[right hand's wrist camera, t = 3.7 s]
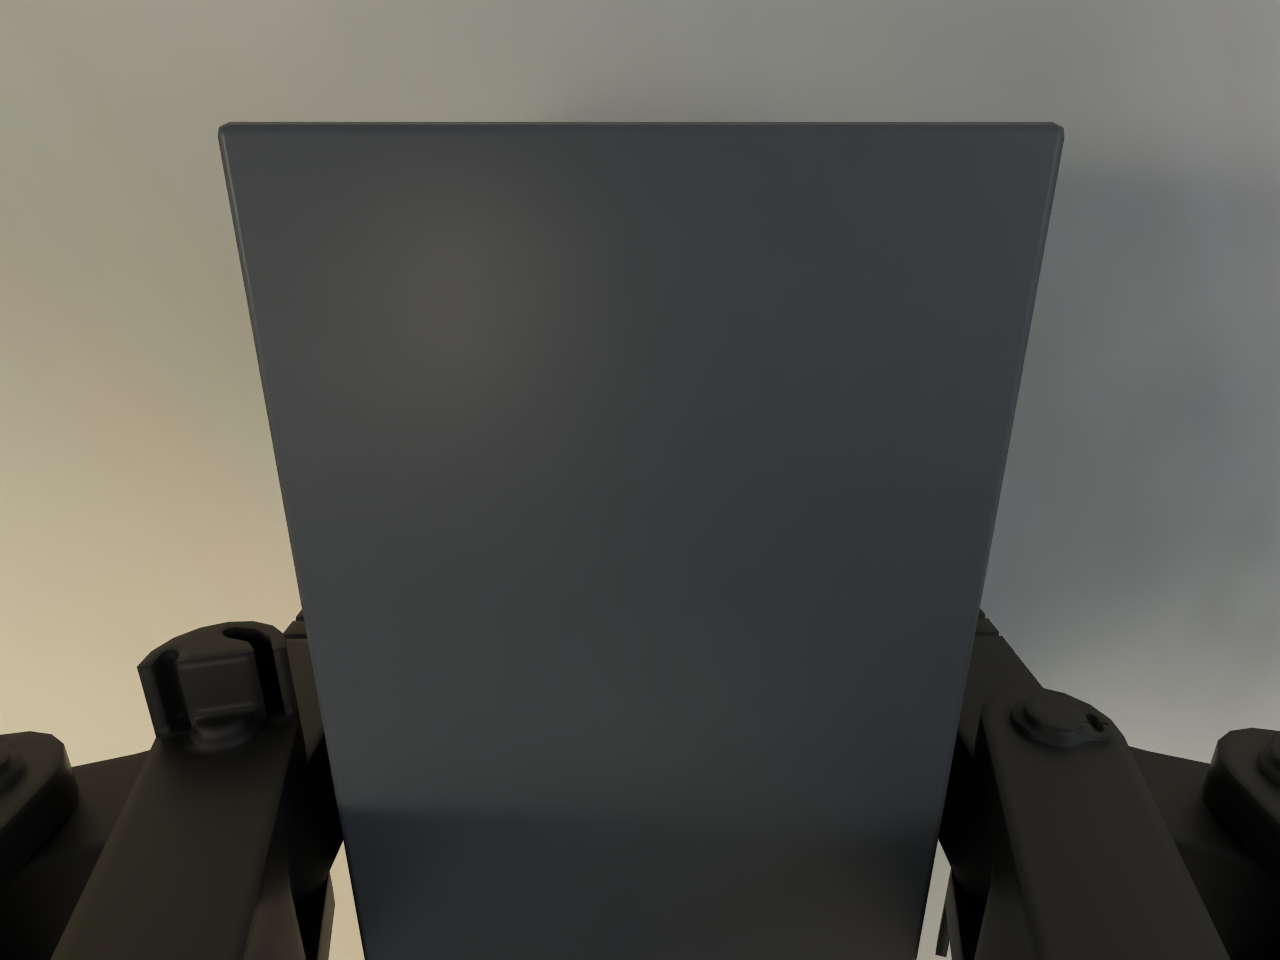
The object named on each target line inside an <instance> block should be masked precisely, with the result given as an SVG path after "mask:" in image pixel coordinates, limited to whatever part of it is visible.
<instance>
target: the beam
mask: <svg viewBox="0 0 1280 960" xmlns="http://www.w3.org/2000/svg"><path fill="white" fill-rule="evenodd" d="M218 140H219V146H220V151H221V157H222V162H223V168H224V174H225V179H226V185H227V190H228V196H229V202H230V207H231V213H232V218H233V224H234V230H235V235H236V241H237V246H238V252H239V258H240V263H241V269H242V274H243V280H244V286H245V291H246V297H247V302H248V308H249V314H250V319H251V325H252V330H253V336H254V342H255V347H256V353H257V358H258V364H259V370H260V375H261V381H262V386H263V392H264V398H265V403H266V409H267V414H268V420H269V426H270V431H271V437H272V442H273V448H274V454H275V459H276V465H277V470H278V476H279V482H280V487H281V493H282V498H283V504H284V510H285V515H286V521H287V526H288V532H289V538H290V543H291V549H292V554H293V560H294V566H295V571H296V577H297V582H298V588H299V594H300V599H301V605H302V610H303V616H304V622H305V627H306V633H307V638H308V644H309V650H310V655H311V661H312V666H313V672H314V678H315V683H316V689H317V694H318V700H319V706H320V711H321V717H322V722H323V728H324V734H325V739H326V745H327V750H328V756H329V762H330V767H331V773H332V778H333V784H334V790H335V795H336V801H337V806H338V812H339V818H340V823H341V829H342V834H343V840H344V846H345V851H346V857H347V862H348V868H349V874H350V879H351V885H352V890H353V896H354V901H355V907H356V913H357V918H358V924H359V929H360V935H361V941H362V946H363V952H364V957H365V960H916V959H917V953H918V948H919V942H920V936H921V931H922V925H923V920H924V914H925V909H926V903H927V898H928V892H929V886H930V881H931V875H932V870H933V864H934V859H935V853H936V847H937V842H938V836H939V831H940V825H941V820H942V814H943V809H944V803H945V797H946V792H947V786H948V781H949V775H950V770H951V764H952V759H953V753H954V747H955V742H956V736H957V731H958V725H959V720H960V714H961V708H962V703H963V697H964V692H965V686H966V681H967V675H968V670H969V664H970V658H971V653H972V647H973V642H974V636H975V631H976V625H977V619H978V614H979V608H980V603H981V597H982V592H983V586H984V581H985V575H986V569H987V564H988V558H989V553H990V547H991V542H992V536H993V530H994V525H995V519H996V514H997V508H998V503H999V497H1000V492H1001V486H1002V480H1003V475H1004V469H1005V464H1006V458H1007V453H1008V447H1009V442H1010V436H1011V430H1012V425H1013V419H1014V414H1015V408H1016V403H1017V397H1018V391H1019V386H1020V380H1021V375H1022V369H1023V364H1024V358H1025V353H1026V347H1027V341H1028V336H1029V330H1030V325H1031V319H1032V314H1033V308H1034V302H1035V297H1036V291H1037V286H1038V280H1039V275H1040V269H1041V264H1042V258H1043V252H1044V247H1045V241H1046V236H1047V230H1048V225H1049V219H1050V213H1051V208H1052V202H1053V197H1054V191H1055V186H1056V180H1057V175H1058V169H1059V163H1060V158H1061V152H1062V147H1063V141H1064V130H1063V127H1061V126H1059V125H1057V124H1055V123H1053V122H228V123H226V124H224V125H222V126H220V127H219V131H218Z"/></svg>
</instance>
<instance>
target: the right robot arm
mask: <svg viewBox="0 0 1280 960" xmlns="http://www.w3.org/2000/svg"><path fill="white" fill-rule="evenodd" d="M998 633H999V632H998V630H997V629H996V628H995V627H994V625H993V624H992V623H991V621H990V620H989V619H988V618H985V614H984V613H983V611H982V610H981V609H980V608H979V614H978V619H977V625H976V631H975V636H974V642H973V647H972V653H971V658H970V664H969V670H968V675H967V681H966V686H965V692H964V697H963V703H962V708H961V714H960V720H959V725H958V731H957V736H956V742H955V747H954V753H953V759H952V764H951V770H950V775H949V781H948V786H947V792H946V797H945V803H944V809H943V814H942V820H941V825H940V831H939V836H938V839H939V841H940V843H941V846H942V848H943V850H944V852H945V855H946V857H947V859H948V861H949V863H950V866H951V871H950V876H949V882H948V887H947V892H946V897H945V903H944V908H943V913H942V918H941V924H940V929H939V934H938V940H937V947H936V954H935V955H939V956H943V957H946V956H947V951H948V946H949V941H950V947H951V956H952V960H1280V731H1274V730H1266V729H1258V728H1247V729H1240V730H1233V731H1229V732H1228V733H1227V734H1226V735H1224V736H1223V737H1222V738H1221V739H1219V740H1218V743H1217V746H1216V749H1215V752H1214V755H1213V758H1212V761H1211V764H1208V763H1203V762H1198V761H1193V760H1188V759H1183V758H1179V757H1174V756H1169V755H1164V754H1159V753H1154V752H1149V751H1145V750H1141V749H1137V748H1134V747H1130V746H1128V744H1127V742H1126V740H1125V738H1124V736H1123V735H1122V733H1121V732H1120V731H1119V729H1118V728H1117V727H1116V726H1115V724H1114V723H1113V722H1112V720H1111V719H1109V718H1108V717H1107V716H1105V715H1104V714H1102V713H1101V712H1099V711H1098V710H1097V709H1095V708H1094V707H1092V706H1091V705H1090V704H1087V703H1085V702H1083V701H1081V700H1078V699H1076V698H1074V697H1071V696H1069V695H1067V694H1065V693H1061V692H1057V691H1052V690H1048V689H1044V688H1043V687H1042V686H1041V685H1040V684H1039V682H1038V681H1037V680H1036V679H1035V677H1034V676H1033V675H1032V673H1031V672H1030V671H1029V670H1028V668H1027V667H1026V666H1025V665H1024V663H1023V662H1022V661H1021V659H1020V658H1019V657H1018V656H1017V654H1016V653H1015V652H1014V651H1013V649H1012V648H1011V647H1010V646H1009V644H1008V643H1007V642H1006V640H1005V639H1004V638H1003V637H1002V636H999V634H998ZM137 669H138V672H139V676H140V679H141V683H142V687H143V690H144V694H145V698H146V701H147V705H148V709H149V712H150V716H151V720H152V723H153V727H154V730H155V734H156V739H155V741H154V743H153V745H152V747H151V750H149V751H145V752H141V753H137V754H134V755H129V756H124V757H119V758H114V759H109V760H104V761H99V762H95V763H90V764H85V765H80V766H75V767H71V765H70V762H69V759H68V756H67V753H66V750H65V747H64V744H63V743H62V742H61V741H59V740H58V739H57V738H56V737H54V736H53V735H52V734H45V733H38V732H31V731H28V732H20V733H12V734H4V735H0V960H328V957H329V949H330V941H331V933H332V924H333V916H334V908H335V901H334V894H333V887H332V882H331V876H330V869H331V866H332V864H333V862H334V860H335V857H336V855H337V853H338V851H339V849H340V846H341V844H342V842H343V834H342V829H341V823H340V818H339V812H338V806H337V801H336V795H335V790H334V784H333V778H332V773H331V767H330V762H329V756H328V750H327V745H326V739H325V734H324V728H323V722H322V717H321V711H320V706H319V700H318V694H317V689H316V683H315V678H314V672H313V666H312V661H311V655H310V650H309V644H308V638H307V633H306V627H305V622H304V616H303V610H301V611H300V613H299V614H298V615H297V616H296V621H293V622H292V623H291V624H290V625H289V627H288V628H287V629H286V631H285V632H284V633H282V632H280V631H279V630H278V629H277V628H275V627H274V626H272V625H268V624H263V623H259V622H254V621H246V622H226V623H221V624H216V625H211V626H207V627H202V628H199V629H196V630H193V631H191V632H188V633H185V634H183V635H180V636H177V637H175V638H173V639H171V640H169V641H168V642H166V643H164V644H163V645H161V646H160V647H158V648H156V649H155V650H153V651H151V652H150V653H149V654H148V656H147V657H146V658H145V659H144V660H143V661H142V662H141V663H140V664H139V665H138V666H137Z"/></svg>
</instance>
